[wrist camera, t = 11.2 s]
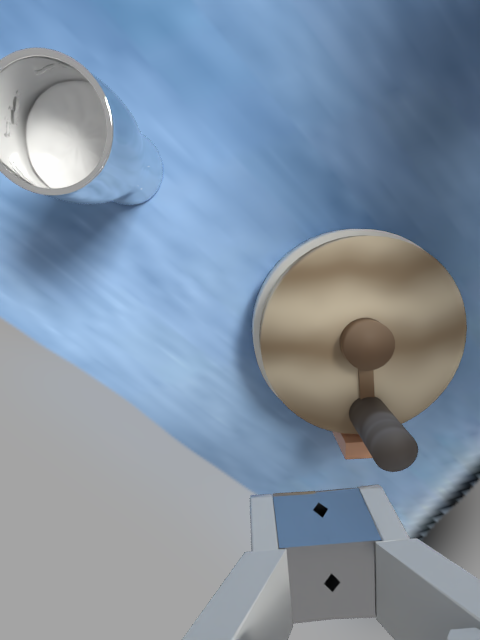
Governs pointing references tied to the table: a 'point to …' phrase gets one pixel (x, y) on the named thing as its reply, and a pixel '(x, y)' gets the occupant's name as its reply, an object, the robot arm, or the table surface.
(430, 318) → the tan disc with handle
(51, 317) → the table surface
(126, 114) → the beer glass
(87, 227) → the table surface
